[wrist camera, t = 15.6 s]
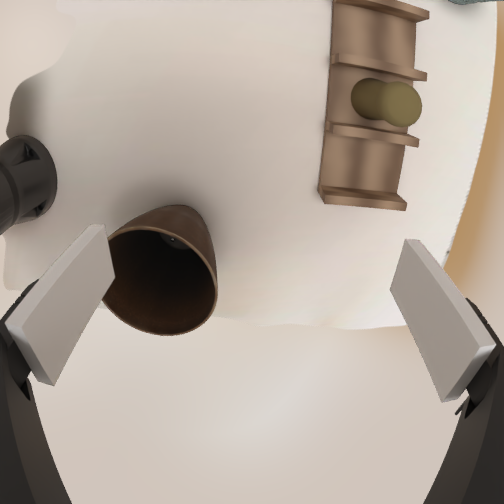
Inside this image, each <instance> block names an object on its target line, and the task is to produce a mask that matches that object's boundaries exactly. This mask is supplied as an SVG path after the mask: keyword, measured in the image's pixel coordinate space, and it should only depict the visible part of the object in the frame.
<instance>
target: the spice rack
mask: <svg viewBox="0 0 504 504" xmlns="http://www.w3.org/2000/svg"><path fill="white" fill-rule="evenodd" d="M427 19H429V11H427V10H424V9H421V8H419V7H416V6H413V5H410V4H407V3H403V2H400V1H397V0H333V6H332V33H331V53H330V69H329V84H328V97H327V109H326V120H325V131H324V141H323V151H322V160H321V169H320V178H319V186H318V192H319V194H320V196H321V198H322V200H323V202H324V204H335V205H347V206H359V207H370V208H380V209H390V210H400V211H406V207H407V202H405V201H404V200H403V199H402V198H401V197H400V196H399V195H398V194H397V189H398V184H399V179H400V173H401V168H402V162H403V157H404V150H405V145H407V146H413V147H418V146H419V139H418V138H416V137H414V136H411V135H409V134H407V131H408V127H396V126H393V125H391V124H389V123H387V122H386V121H385V120H368V119H365V118H363V117H361V116H360V115H359V114H358V113H357V112H356V111H355V110H354V108H353V106H352V103H351V91H352V89H353V87H354V85H355V84H356V83H357V82H358V81H360V80H362V79H364V78H374V79H378V80H381V81H384V82H386V83H390V82H395V81H400V82H404V83H407V84H408V85H410V86H412V87H413V81H427V73H426V72H422V71H419V70H416V69H414V62H415V43H416V23H417V22H420V21H424V20H427Z"/></svg>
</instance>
